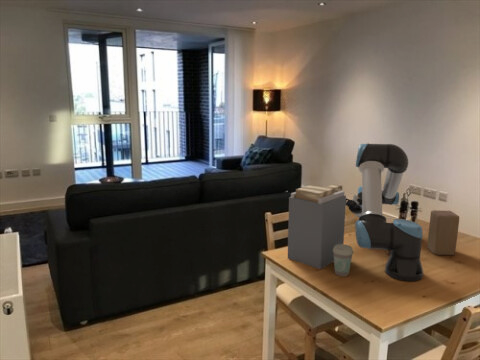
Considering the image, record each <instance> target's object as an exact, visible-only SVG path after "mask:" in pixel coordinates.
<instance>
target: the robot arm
mask: <svg viewBox="0 0 480 360" xmlns="http://www.w3.org/2000/svg"><path fill="white" fill-rule="evenodd" d="M355 167H356V168H358V170H359V172H360V173H361V186H359V187H358V188H357V195H356V194H353V198H352V199H349V198H347V197H346V206H347V207H348V210H349V211H350V212H351V213H352V214H354V215H355V216H356V217H357V218H358V220H356V221H355V223H354V227H355V228H354V229H355V239H356V243H357V245H358V247H360V248H364V249H369V250H370V249H373V250H385V251H390V253H389V254H390V255H389V257H388V259H387V261H386V264H385V267H384V273H385V274H386V275H388V276H389V277H391V278H393V279H396V280H398V281H399V280H400V281H405V282H416V281H420V280H422V279H423V277H424V269H423V265H422V262H421V252H422V242H423V237H424V236H423V227H422V226H421V225H420V224H419V223H417V222H416V221H415V222H414V221H412V220H409V219H405V218H395V219H393V221H392V222H387V217H386V216H385V215H384V214H383V205H389V206H393V205H398V204H399V202H400V201H399V200H400V193H399V192H398V190H399V187H400V185H401V181H402V177H403V174H404V173H405V172H406V171H407V170H408V168H409V158H408V155H407V153H406V152H405V150H403V148H401V147H400V146H398V145H397V144H392V143H361V144H360V145H358V149H357V154H356V159H355ZM385 169H387V172H386V176H385V178H384V181H383V186H382V173H383V172H384V170H385ZM333 194H334V193H333Z"/></svg>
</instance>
